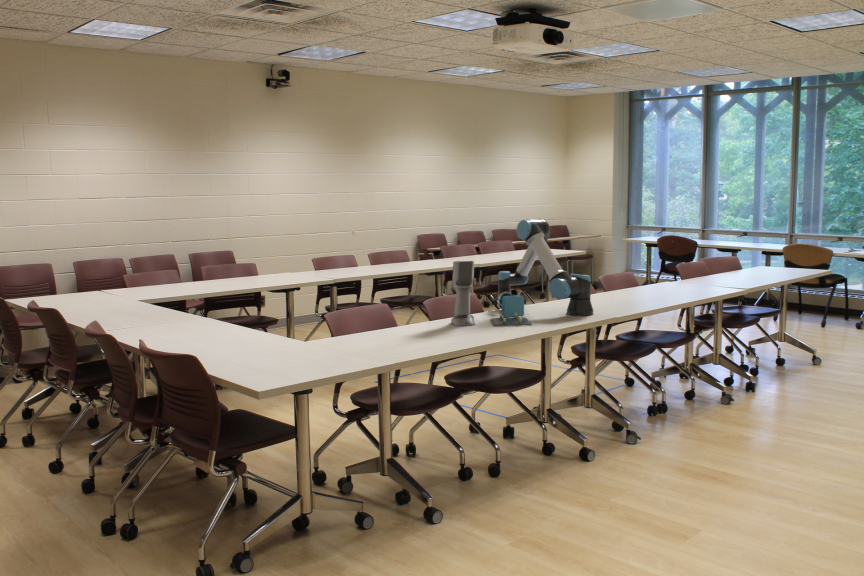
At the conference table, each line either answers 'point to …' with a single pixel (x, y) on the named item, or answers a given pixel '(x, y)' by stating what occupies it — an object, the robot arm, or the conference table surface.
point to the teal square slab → (512, 306)
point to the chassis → (509, 321)
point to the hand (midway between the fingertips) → (510, 304)
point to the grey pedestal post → (462, 292)
